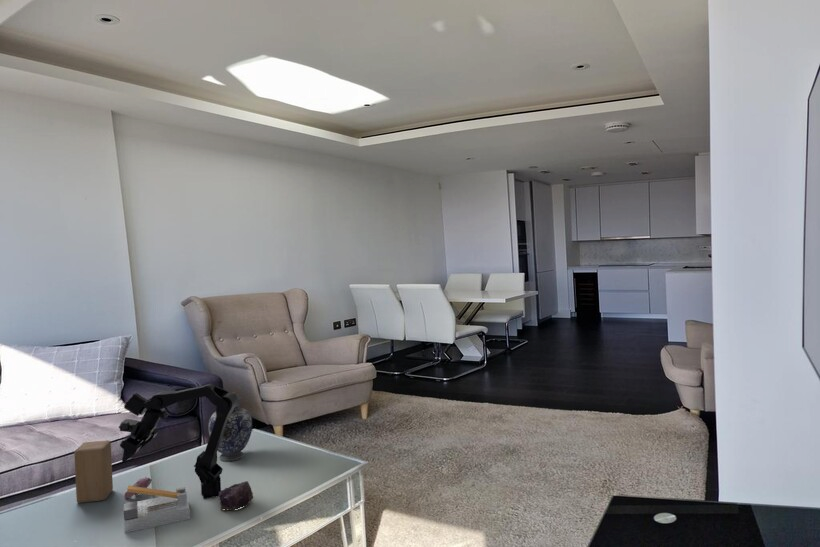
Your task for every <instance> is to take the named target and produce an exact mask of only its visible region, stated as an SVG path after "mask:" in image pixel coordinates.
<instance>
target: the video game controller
mask: <svg viewBox="0 0 820 547" xmlns="http://www.w3.org/2000/svg"><path fill="white" fill-rule="evenodd" d="M152 482H153V479H152V478H150V477H147V476H145V477H143V478H140V479H138V480H137V481H136V482H135V483H134V484H133V485H132V486H135V487H142V488H149V486H150V485H151V483H152ZM138 494H139V495H140V493H132V492H127V491H126V492H124V494H123V496H124V498H125V499H126V498H127V499H130V498H132V497H133V496H135V497H138V496H139V495H138ZM137 495H138V496H137Z"/></svg>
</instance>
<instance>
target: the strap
mask: <svg viewBox="0 0 820 547" xmlns="http://www.w3.org/2000/svg"><path fill="white" fill-rule="evenodd" d="M126 492H132V493H140V494H141V495H149V496H156V497H170V498H177V494H181V493H182V492H181V493H179V492H176V491H173V490H172V491H170V490H164V489H156V488H149V487H147V488H142V487H135V486H133V485H127V489H126ZM140 494H139V495H140Z"/></svg>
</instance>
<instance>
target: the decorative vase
mask: <svg viewBox="0 0 820 547" xmlns="http://www.w3.org/2000/svg"><path fill="white" fill-rule="evenodd" d="M232 393H233V394H235V395H236V396H237V398H238V403H237V405H236V406H235V408H234V410H233V412H232V413H231V415H230V416H229V418H228V420H227V423H226V426H225V429H224V432H223V435H222V438H221V441H220V444H219V447H218V450H217V453H220V454H219V458H218V459H219V461H220V462H225V461H226V462H228V461H229V462H236V461H239V460H240V459H243V458H244V456H245V453H244V452H243V450H244V449H245V448H246V446H248V443H249V441H250V439H251V436H252V432H253V417H252V414H251V413H250V411H248V410H247V409H245V408H243V407H240V406H239V405H240V404H239V401H241V400H242V396H241V395H240V394H239V393H237V392H236V391H233V392H232ZM208 420H209V421H208V434H209V436H210V435H211V432H212V429H213V426H214V423H215V420H216V411H215V412H213V413H212V414H211V416H210V417H209V419H208ZM226 462H225V463H226ZM229 462H228V463H229Z"/></svg>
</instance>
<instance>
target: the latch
mask: <svg viewBox="0 0 820 547" xmlns="http://www.w3.org/2000/svg"><path fill="white" fill-rule="evenodd" d="M137 501H138V500H136V501H132V502H125V503H124V504H123V521H124V520H127V519H132V518H137V517H138V509H137Z"/></svg>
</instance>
